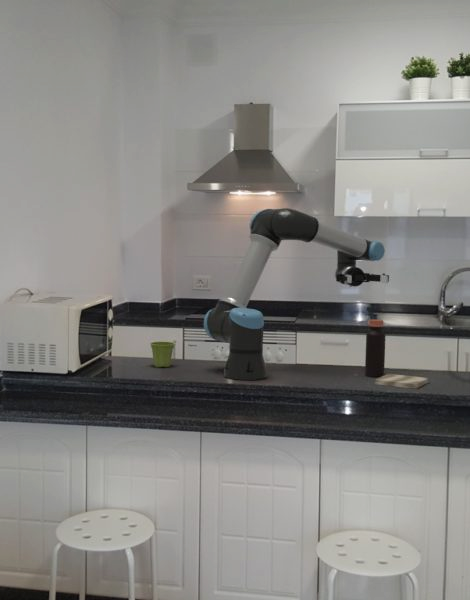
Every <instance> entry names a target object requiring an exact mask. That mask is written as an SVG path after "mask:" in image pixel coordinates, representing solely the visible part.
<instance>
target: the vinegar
mask: <svg viewBox="0 0 470 600" xmlns="http://www.w3.org/2000/svg"><path fill="white" fill-rule="evenodd" d="M368 322H369V324H368V325H369V326H368V327H369V330H368V331H367V332H366V335H365V360H364V361H365V364H364V365H365V366H364V367H365V368H364V375H365V376H366V377H368V378H369V377H370V378H380V377H382V376H385V358H386V333H385V332H384V331H383V328H384V320H383V319H369V321H368Z"/></svg>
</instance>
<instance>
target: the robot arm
mask: <svg viewBox="0 0 470 600" xmlns="http://www.w3.org/2000/svg"><path fill="white" fill-rule="evenodd" d="M249 229H250V230H249V231H250V234H249V239H250V244H249V246H248V248H247V250H246V252H245V254H244V256H243V258H242V260H241V263H240V264H239V267H238V269H237V270H236V274H235V275H234V277H233V278H232V282H231V284H230V286H229V288H228V289H227V292H226V294H225V296H224V298H220V299H219V300H218V302H217V304H216V306H215V307H214V308H212V309H210V310H208V311H207V312H206V314H205V315H204V319H203V328H204V331H205V333H206V335H207V336H208V337H209V338H211V339H212V340H214V341H216V342H220V343H226V344H227V343H228V344H229V349H228V350H229V353H228V357H227V360H226V363H225V366H224V369H223V377H225V378H228V379H230V380H231V379H232V380H239V381H240V380H243V381H253V380H256V381H258V380H262V379H266V378H268V369H267V364H266V361H265V358H264V354H263V351H264V350H263V349H264V325H265V321H264V315H263V313H262V312H261V311H259V310H258V309H253V308H247V306H248V304H249V302H250V300H251V297H252V295H253V293H254V291H255V289H256V287H257V285H258V282H259V281H260V278H261V276H262V274H263V272H264V269H265V267H266V266H267V263H268V261H269V259H270V257H271V254H272V252H274V251H277V250H278V249H279V246H280V244H281V243H282V241H301V242H304V243H310V242H313V243H316V244H318V245H322V246H325V247H327V248H330V249H333V250H337V251H336V252H337V255H336V257H337V258H336V259H337V261H336V262H337V264H336V265H337V266H336V269H335V271H334V278H335V281H336V282H337V283H340V284H341V285H347V286H349V288H351V287H359V286H361V285H362V284H363V283H370V282H375V283H377V282H378V283H379V282H380V283H382V284H389V282H390V275H389V274H387V275H386V273H382V274H377V273H376V274H374V273H368V272H364V270H363V269H361V268H360V267H356V266H357V261H366V262H367V261H368V262H369V261H371V262H376V261H377V262H378V261H380V260H382V259H383V257H384V256H385V251H386V250H385V246H384V244H383V243H382V242H380V241H377V240H373V241H371V240H368V239H365V238H362V237H360V236H357V235H354V234H352V233H349V232H346V231H344V230H341V229H339V228H336V227H333V226H331V225H329V224H325V223H322V222H320V221H319V220H318V218H316V217H314V216H312V215H310V214H307V213H304V212H301V211H299V210H296V209H292V208H287V207H285V208H274V209H273V208H266V209H262V210H259V211H257V212H255V214H253V216H252V218H251V220H250V222H249Z"/></svg>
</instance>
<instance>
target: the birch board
mask: <svg viewBox="0 0 470 600" xmlns="http://www.w3.org/2000/svg"><path fill="white" fill-rule="evenodd" d="M428 383H429V377H420V376H412V375H403V374H394V373H387V374H384V376H382V377H377V378H376V379H374V384H375V385H379V386H387V387H388V386H389V387H395V388H397V387H398V388H406V389H413V390H417V389H419V388H421V387H423V386H425V385H426V384H428Z"/></svg>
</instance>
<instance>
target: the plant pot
mask: <svg viewBox="0 0 470 600" xmlns="http://www.w3.org/2000/svg"><path fill="white" fill-rule="evenodd" d="M149 345H150V348H151V352H152V361H153V366H154V367H156V368H162V367H163V368H169V367H171V363H172V357H173V351H174V349H175V348H174V347H175V345H176V342H172V341H152V342H150V343H149Z"/></svg>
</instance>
